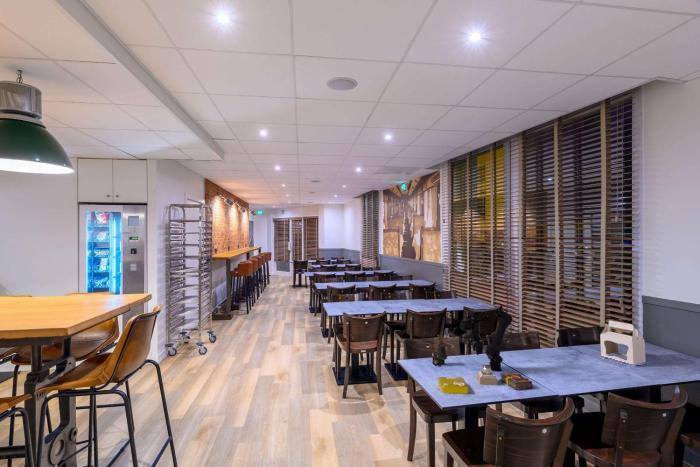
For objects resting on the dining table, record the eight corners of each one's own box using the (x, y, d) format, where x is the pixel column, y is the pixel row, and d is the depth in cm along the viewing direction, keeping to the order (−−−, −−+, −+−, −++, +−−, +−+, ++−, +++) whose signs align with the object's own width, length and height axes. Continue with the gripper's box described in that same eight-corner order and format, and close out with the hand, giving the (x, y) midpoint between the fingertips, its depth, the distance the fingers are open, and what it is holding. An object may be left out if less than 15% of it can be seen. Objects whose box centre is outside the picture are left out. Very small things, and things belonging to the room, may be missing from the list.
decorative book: (515, 379, 212) (515, 371, 212) (534, 389, 196) (533, 381, 196) (499, 380, 209) (499, 372, 210) (516, 391, 194) (516, 382, 194)
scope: (431, 343, 244) (444, 343, 245) (431, 363, 243) (445, 362, 244) (434, 346, 236) (448, 346, 236) (435, 366, 235) (449, 366, 236)
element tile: (462, 384, 205) (462, 376, 205) (469, 394, 190) (469, 386, 190) (437, 383, 206) (437, 375, 206) (442, 394, 191) (442, 385, 191)
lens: (481, 374, 210) (481, 364, 210) (489, 374, 209) (489, 364, 209) (483, 376, 205) (483, 366, 205) (492, 377, 204) (491, 367, 205)
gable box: (646, 364, 236) (644, 324, 238) (634, 367, 232) (632, 326, 233) (612, 355, 257) (610, 318, 259) (600, 357, 253) (598, 320, 254)
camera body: (493, 380, 210) (493, 371, 210) (497, 385, 202) (497, 375, 202) (476, 379, 211) (476, 370, 212) (480, 384, 203) (480, 375, 204)
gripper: (460, 326, 237) (460, 348, 236) (465, 332, 218) (466, 356, 217) (476, 326, 235) (477, 349, 234) (483, 332, 217) (484, 357, 216)
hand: (475, 352), depth 225 cm, fingers open, 9 cm apart
